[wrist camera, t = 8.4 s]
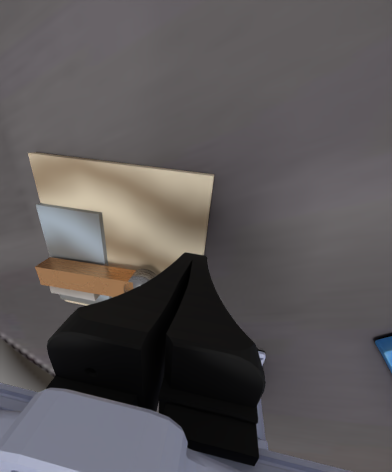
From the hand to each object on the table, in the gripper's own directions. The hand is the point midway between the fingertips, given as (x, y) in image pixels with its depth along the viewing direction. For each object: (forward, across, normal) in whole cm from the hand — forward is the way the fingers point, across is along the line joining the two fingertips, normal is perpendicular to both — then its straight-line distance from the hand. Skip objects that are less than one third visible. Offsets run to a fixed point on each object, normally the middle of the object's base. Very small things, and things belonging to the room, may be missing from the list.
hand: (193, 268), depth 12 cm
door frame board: (+9, +9, +6) cm, 14 cm away
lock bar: (+7, +11, +8) cm, 16 cm away
